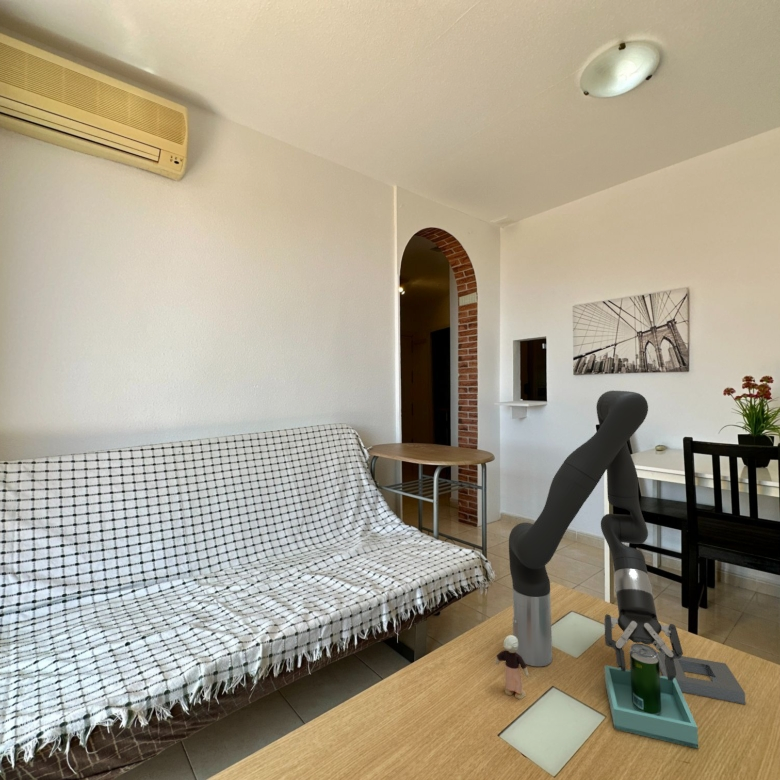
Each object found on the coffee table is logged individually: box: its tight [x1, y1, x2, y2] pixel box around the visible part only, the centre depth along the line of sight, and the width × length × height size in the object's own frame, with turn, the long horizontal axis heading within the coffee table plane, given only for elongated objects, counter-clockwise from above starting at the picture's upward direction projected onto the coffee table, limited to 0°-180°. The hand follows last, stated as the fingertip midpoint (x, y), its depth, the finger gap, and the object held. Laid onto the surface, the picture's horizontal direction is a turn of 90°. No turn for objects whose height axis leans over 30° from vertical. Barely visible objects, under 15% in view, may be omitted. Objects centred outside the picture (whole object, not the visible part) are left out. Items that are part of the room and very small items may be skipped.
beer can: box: [629, 643, 661, 716], centre depth 87 cm, size 5×5×12 cm
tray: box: [604, 664, 699, 749], centre depth 86 cm, size 14×14×4 cm
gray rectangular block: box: [657, 651, 746, 705], centre depth 95 cm, size 14×10×2 cm
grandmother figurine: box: [494, 634, 530, 700], centre depth 93 cm, size 8×4×13 cm, turn 65°
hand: (646, 675), depth 85 cm, fingers open, 8 cm apart
